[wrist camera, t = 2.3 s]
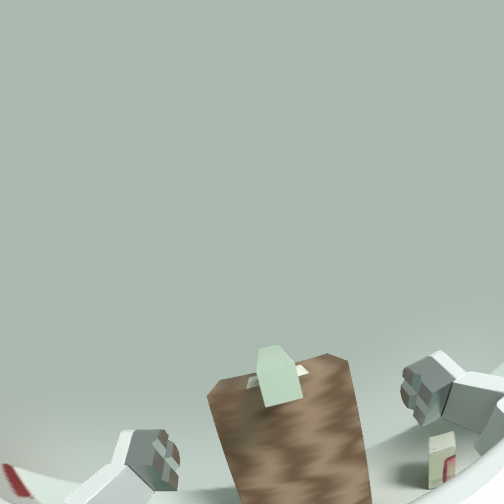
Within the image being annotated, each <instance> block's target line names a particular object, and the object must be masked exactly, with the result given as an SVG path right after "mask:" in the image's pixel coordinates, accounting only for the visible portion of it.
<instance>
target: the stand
mask: <svg viewBox="0 0 504 504" xmlns="http://www.w3.org/2000/svg"><path fill="white" fill-rule="evenodd" d="M295 366H296V370H297V374H298V378H299V382H300V386H301V390H302V394H303V398H301V399H297V400H293V401H290V402H286V403H282V404H278V405H273V406H269V407H265V404H264V400H263V396H262V392H261V388H260V385H259V381H258V377H257V373H252V374H248V375H244V376H238V377H234V378H228V379H223V380H220V381H219V382H218V383H217V384H216V386H215V387H214V388H213V389H212V390H211V392H210V393H209V394H208V395H207V399H208V402H209V406H210V409H211V413H212V416H213V419H214V423H215V426H216V429H217V432H218V436H219V439H220V442H221V445H222V448H223V451H224V454H225V457H226V460H227V463H228V466H229V469H230V471H231V474H232V477H233V480H234V483H235V485H236V488H237V491H238V493H239V496H240V498H241V501H242V504H372V498H371V489H370V481H369V473H368V466H367V459H366V453H365V447H364V440H363V435H362V429H361V423H360V418H359V413H358V408H357V402H356V397H355V393H354V388H353V383H352V379H351V374H350V369H349V365H348V361H346V360H344V359H341V358H338V357H336V356H333V355H330V354H328V353H327V354H324V355H321V356H318V357H314V358H311V359H307V360H304V361H300V362H296V363H295Z"/></svg>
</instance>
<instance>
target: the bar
mask: <svg viewBox="0 0 504 504" xmlns="http://www.w3.org/2000/svg"><path fill="white" fill-rule="evenodd" d="M256 373H257V377H258V381H259V385H260V388H261V392H262V396H263V400H264V404H265V407H269V406H273V405H278V404H282V403H286V402H290V401H293V400H297V399H301V398H303V394H302V390H301V386H300V382H299V378H298V374H297V370H296V366H295V362H294V361H292V359H291V358H290V357H289V356H288V355H287V354H286V353H285V351H284V350H283V349H282V348H281V347H280V346H279V345H274V346H270V347H266V348H262V349H259V354H258V362H257V372H256Z"/></svg>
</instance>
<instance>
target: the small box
mask: <svg viewBox="0 0 504 504" xmlns="http://www.w3.org/2000/svg"><path fill="white" fill-rule="evenodd" d="M455 457H456V441H455V434H454V431H451V432H447V433H444V434H440V435H436V436H433V437H429V440H428V489H432V488H436V487H438V486H440V485H441V484H443V483H445V482H446V481H448V480H449V479H451V478H452V477H454V476H455Z"/></svg>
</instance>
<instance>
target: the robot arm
mask: <svg viewBox="0 0 504 504" xmlns="http://www.w3.org/2000/svg"><path fill="white" fill-rule="evenodd" d="M402 376H403V378H404V379H405V380H404V382H403V383H402V384H401V391H400V392H401V397H402V400H403V402H404V404H405V405H406V407H407V408H410V409H412V410H414V414H413V416H414V417H415V419H416V420H417V421H418V423H419V424H420V425H421V427H424V426H426V425H428V424H430V423H432V422H433V421H435V420H437V419H439V418H440V417H442V419H445V420H447V421H450V422H452V423H455V424H457V425H460V426H462V427H465V428H468V429H470V430H473V431H476V432H478V433H481V434H480V436H479V438H478V439H477V441H476V443H475V446H474V447H475V449H476V450H477V451H478V452H479V454H480V455H481V457H480V458H478V459H477V460H476V461H475V462H473V463H472V464H471V465H469V466H468V467H467V468H465V469H464V470H462V471H461V472H460V473H458V474H457V475H455V476H454V477H452V478H451V479H449V480H448V481H446V482H445V483H443V484H441V485H440V486H438V487H437V488H435V489H433V490H432V491H430V492H428V493H426V494H425V495H423V496H421V497H419V498H417V499H416V500H414V501H412V502H410V503H408V504H504V377H500V376H494V375H488V374H482V373H477V372H472V371H469V372H467V373H466V372H465V371H464V370H463V369H462V368H461V367H460V366H458V364H456V363H455V362H454V361H453V360H452V359H451V358H449V357H448V356H447V355H446V354H445V353H444V352H443V351H440V350H439V351H437V352H435V353H433V354H431V355H429V356H428V357H425V358H423V359H421V360H419V361H417V362H415V363H413V364H411V365H409V366H407V367H405V368H404V370H403V375H402ZM179 466H180V457H179V452H178V449H177V447H176V446H175V444H174V443H173V442H171V441H169V440H168V434H167V433H166V432H165V430H161V429H160V430H123V431H122V432H121V433H120V436H119V439H118V442H117V445H116V448H115V451H114V454H113V457H112V461H111V464H106V465H105V466H104V467H103V468H102V469H100V470H99V471H98V472H97V473H96V474H94V475H93V476H92V477H91V478H89V479H88V480H87V481H86V482H85V483H83V484H82V485H81V486H80V487H78V488H77V489H76V490H75V491H73V492H72V493H71V494H70V495H68V496H67V497H66V500H65V503H64V504H146V503H147V502H148V501H149V499H150V498H151V497H152V495H153V494H154V493H155V492H154V491H177V487H178V475H177V474H176V472H175V471H176V469H177V468H178V467H179ZM0 504H14V503H12V502H10V501H8V500H7V499H5V498H3V497H1V496H0Z"/></svg>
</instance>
